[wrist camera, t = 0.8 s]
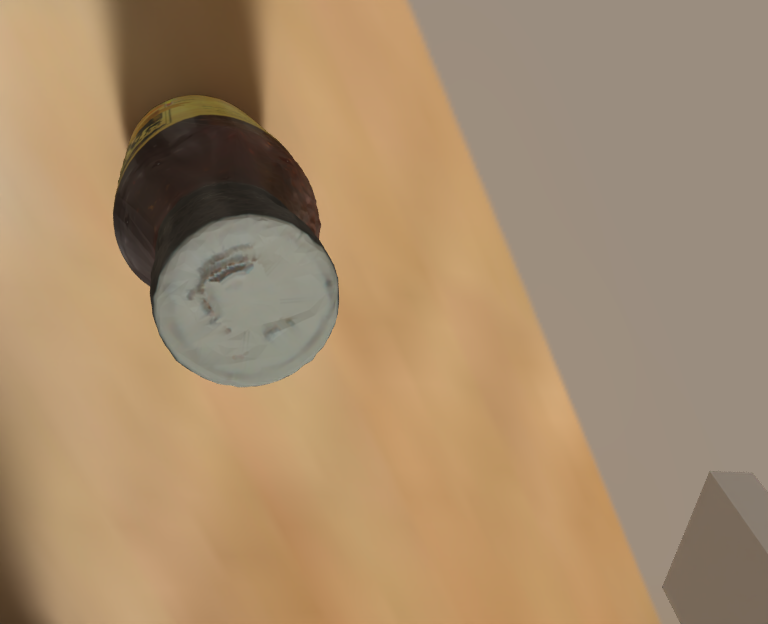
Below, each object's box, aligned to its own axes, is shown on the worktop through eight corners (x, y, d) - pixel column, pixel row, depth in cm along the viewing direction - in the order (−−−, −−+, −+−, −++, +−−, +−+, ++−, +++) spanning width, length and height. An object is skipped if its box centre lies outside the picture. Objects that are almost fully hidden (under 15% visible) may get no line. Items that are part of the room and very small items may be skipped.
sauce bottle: (128, 86, 31) (86, 105, 13) (271, 102, 33) (407, 137, 15) (126, 233, 33) (88, 428, 15) (261, 240, 35) (373, 420, 17)
